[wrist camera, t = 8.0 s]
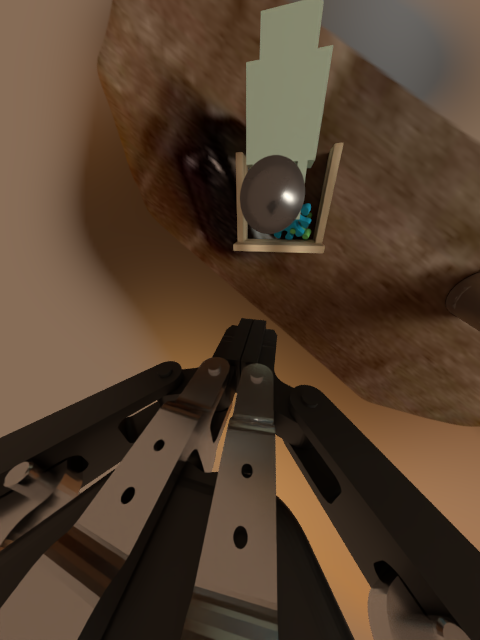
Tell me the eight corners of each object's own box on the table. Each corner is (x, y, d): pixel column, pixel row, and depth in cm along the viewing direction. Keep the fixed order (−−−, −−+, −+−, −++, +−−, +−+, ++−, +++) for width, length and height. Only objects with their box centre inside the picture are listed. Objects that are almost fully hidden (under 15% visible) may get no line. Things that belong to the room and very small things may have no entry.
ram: (300, 179, 20) (311, 151, 10) (294, 224, 22) (299, 233, 13) (261, 181, 20) (239, 158, 11) (260, 224, 23) (240, 233, 14)
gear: (242, 214, 32) (270, 170, 22) (258, 191, 33) (290, 139, 23) (286, 253, 35) (326, 228, 25) (299, 231, 36) (343, 199, 26)
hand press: (312, 109, 24) (344, -25, 10) (298, 215, 31) (305, 219, 17) (269, 115, 26) (246, 1, 12) (264, 215, 32) (246, 219, 18)
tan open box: (336, 151, 26) (350, 134, 20) (317, 245, 33) (323, 253, 27) (241, 159, 29) (229, 146, 23) (242, 244, 36) (233, 250, 30)
